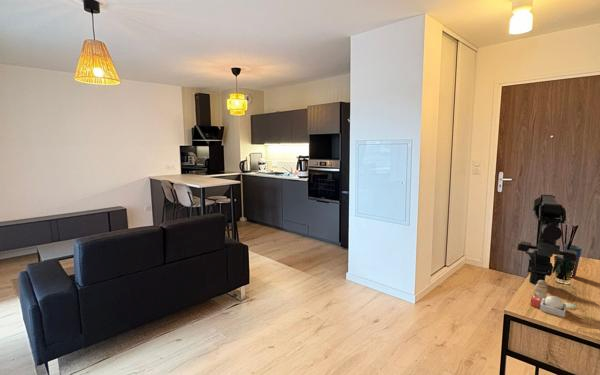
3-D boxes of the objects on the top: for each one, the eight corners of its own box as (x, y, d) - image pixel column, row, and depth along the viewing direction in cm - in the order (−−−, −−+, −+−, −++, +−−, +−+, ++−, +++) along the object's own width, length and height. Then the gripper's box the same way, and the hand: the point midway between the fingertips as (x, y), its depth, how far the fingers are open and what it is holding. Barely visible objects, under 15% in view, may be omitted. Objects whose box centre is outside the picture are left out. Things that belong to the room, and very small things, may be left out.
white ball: (544, 304, 127) (546, 291, 126) (562, 309, 123) (564, 296, 123) (543, 310, 123) (544, 296, 122) (561, 315, 119) (563, 301, 118)
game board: (534, 294, 138) (535, 286, 138) (577, 305, 129) (579, 297, 128) (528, 310, 125) (529, 301, 125) (576, 324, 116) (578, 315, 115)
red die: (531, 302, 129) (532, 294, 128) (540, 305, 127) (541, 297, 126) (530, 305, 127) (531, 297, 126) (539, 308, 125) (540, 300, 124)
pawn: (532, 294, 135) (534, 277, 134) (543, 296, 134) (545, 278, 133) (536, 299, 132) (538, 281, 130) (547, 300, 130) (550, 283, 129)
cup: (577, 275, 158) (582, 246, 156) (577, 279, 153) (581, 249, 151) (560, 271, 163) (564, 243, 161) (559, 275, 158) (563, 246, 156)
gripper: (517, 233, 129) (513, 270, 131) (578, 243, 117) (572, 284, 119) (521, 228, 137) (517, 262, 140) (579, 237, 125) (573, 274, 127)
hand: (543, 270), depth 131 cm, fingers open, 6 cm apart
